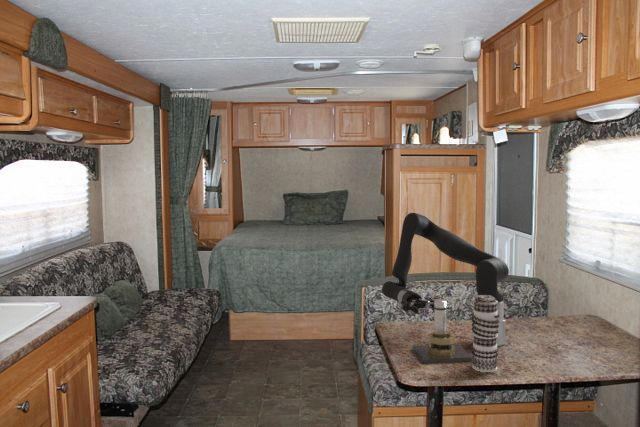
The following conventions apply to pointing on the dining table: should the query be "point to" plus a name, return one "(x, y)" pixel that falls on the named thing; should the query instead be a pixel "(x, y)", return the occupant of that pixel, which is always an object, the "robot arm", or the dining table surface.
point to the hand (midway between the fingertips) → (427, 310)
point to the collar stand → (441, 351)
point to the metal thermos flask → (440, 321)
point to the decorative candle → (485, 334)
